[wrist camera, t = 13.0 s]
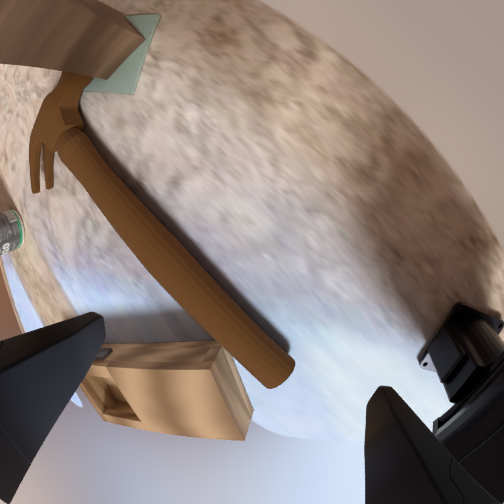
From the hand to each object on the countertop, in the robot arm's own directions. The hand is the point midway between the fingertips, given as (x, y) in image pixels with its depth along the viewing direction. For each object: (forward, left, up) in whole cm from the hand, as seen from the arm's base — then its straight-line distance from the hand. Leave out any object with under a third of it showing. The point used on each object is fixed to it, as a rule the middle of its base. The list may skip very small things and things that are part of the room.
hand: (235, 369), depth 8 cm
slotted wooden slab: (+7, +18, -13) cm, 23 cm away
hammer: (+10, +3, -13) cm, 16 cm away
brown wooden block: (+17, -12, -12) cm, 24 cm away
